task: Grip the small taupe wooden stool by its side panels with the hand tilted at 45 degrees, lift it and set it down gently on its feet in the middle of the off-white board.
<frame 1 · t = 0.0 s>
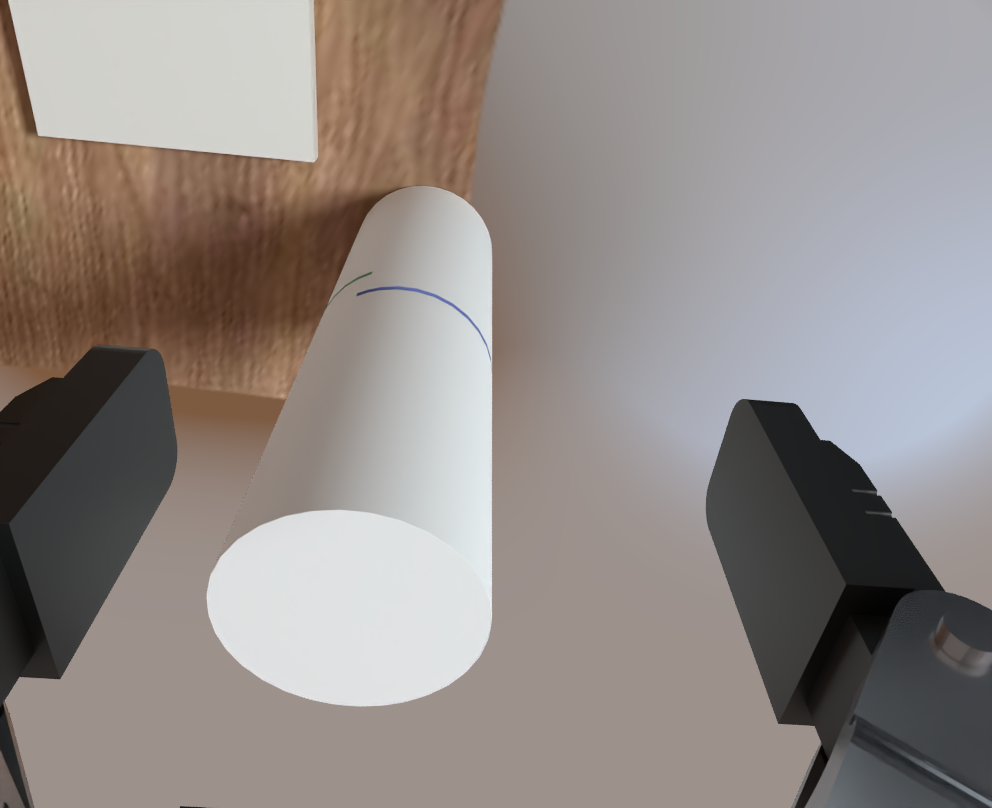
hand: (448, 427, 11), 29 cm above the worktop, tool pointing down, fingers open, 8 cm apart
cylindrical container: (425, 251, 40), on the worktop
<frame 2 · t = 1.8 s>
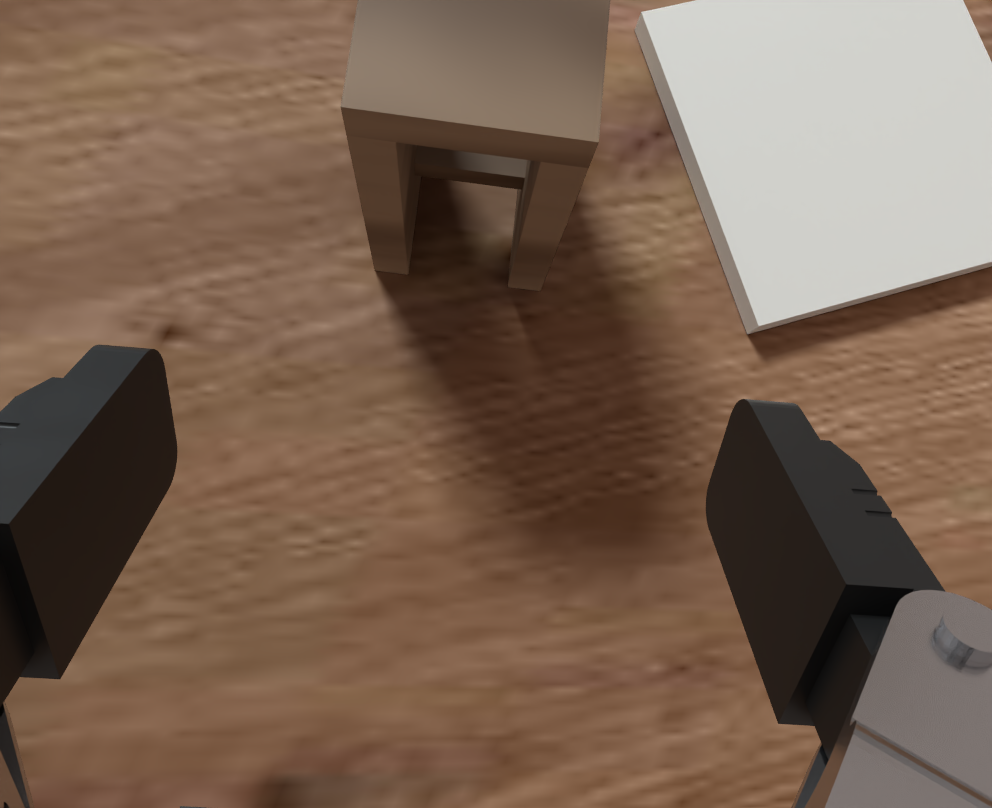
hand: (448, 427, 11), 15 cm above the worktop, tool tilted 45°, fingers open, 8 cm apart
off-white board: (841, 138, 30), on the worktop
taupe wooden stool: (467, 204, 28), on the worktop
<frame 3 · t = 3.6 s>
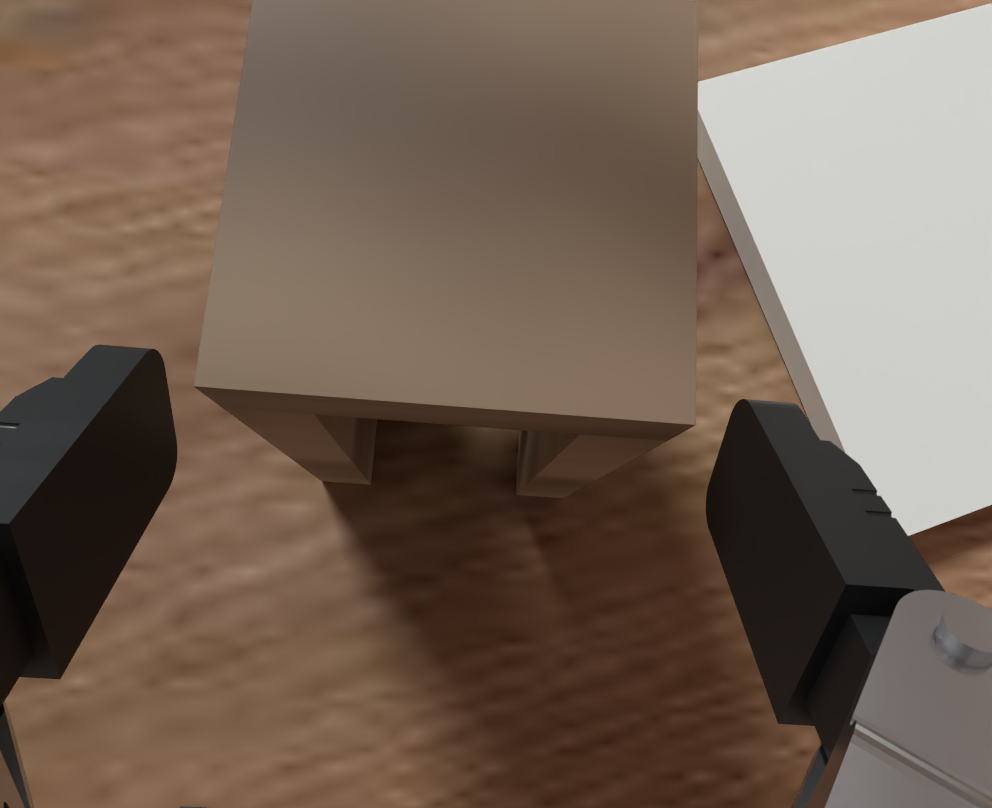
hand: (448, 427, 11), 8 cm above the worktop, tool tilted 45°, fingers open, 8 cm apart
off-white board: (970, 248, 21), on the worktop
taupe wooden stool: (452, 373, 19), on the worktop
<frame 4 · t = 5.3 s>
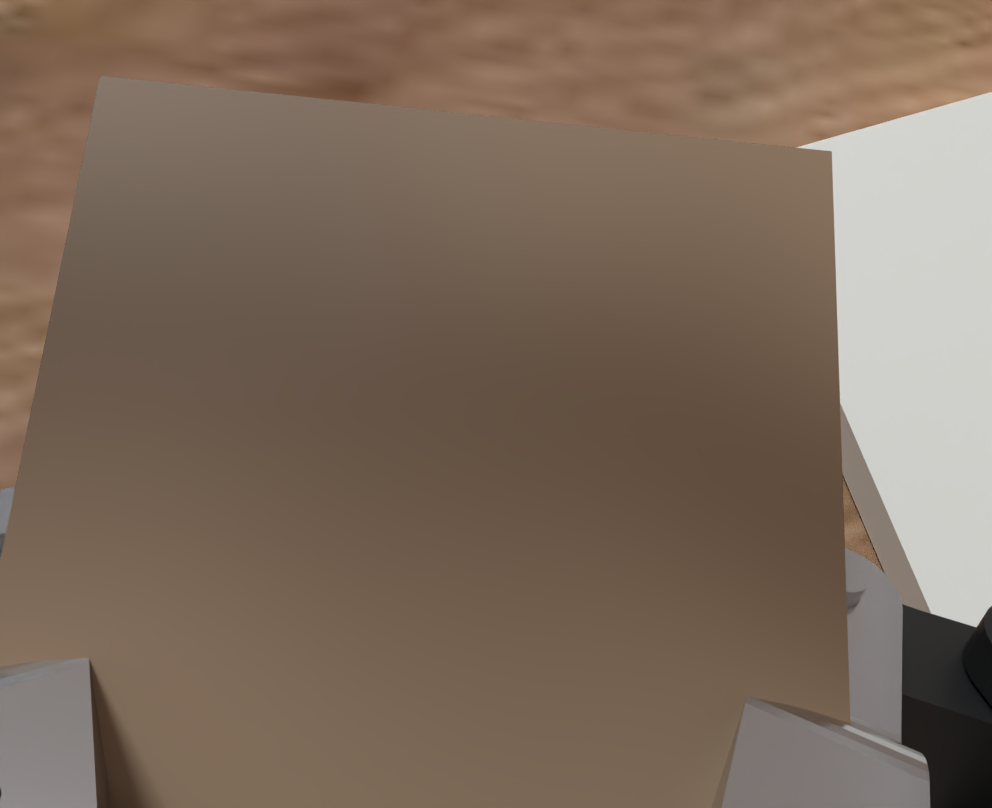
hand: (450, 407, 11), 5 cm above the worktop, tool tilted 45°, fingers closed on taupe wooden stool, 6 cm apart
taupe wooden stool: (441, 536, 15), on the worktop, touching gripper
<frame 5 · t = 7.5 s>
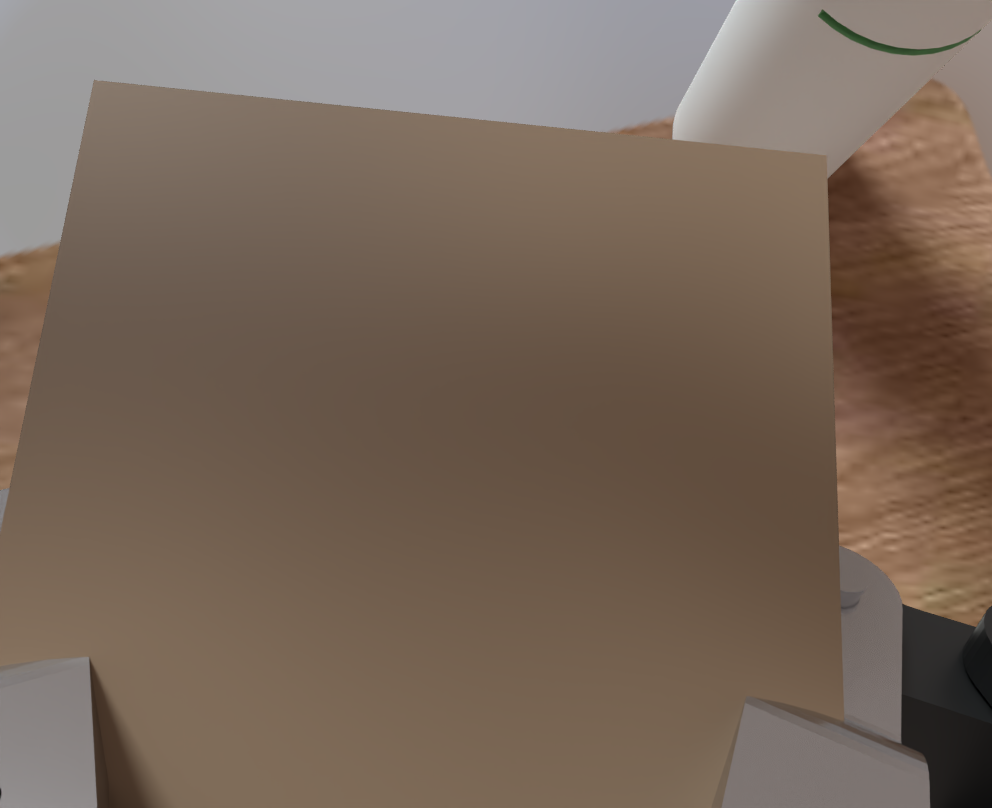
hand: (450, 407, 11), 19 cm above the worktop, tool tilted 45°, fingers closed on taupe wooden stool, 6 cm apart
cylindrical container: (748, 143, 34), on the worktop
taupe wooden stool: (439, 538, 15), point 14 cm above the worktop, touching gripper
when the fingers open (6 cm above the worktop, at t = 10.2 s): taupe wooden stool stays where it is, resting on off-white board.
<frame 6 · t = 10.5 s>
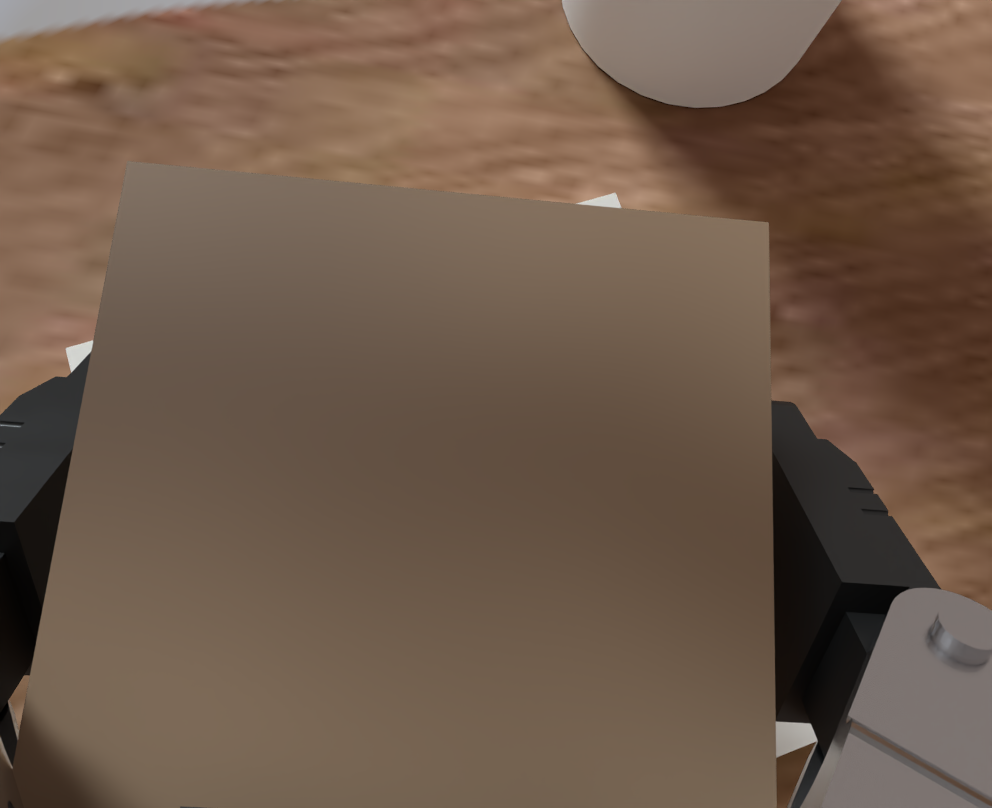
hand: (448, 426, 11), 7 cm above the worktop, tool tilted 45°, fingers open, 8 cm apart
off-white board: (440, 540, 17), on the worktop
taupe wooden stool: (435, 547, 16), point 1 cm above the worktop, touching off-white board
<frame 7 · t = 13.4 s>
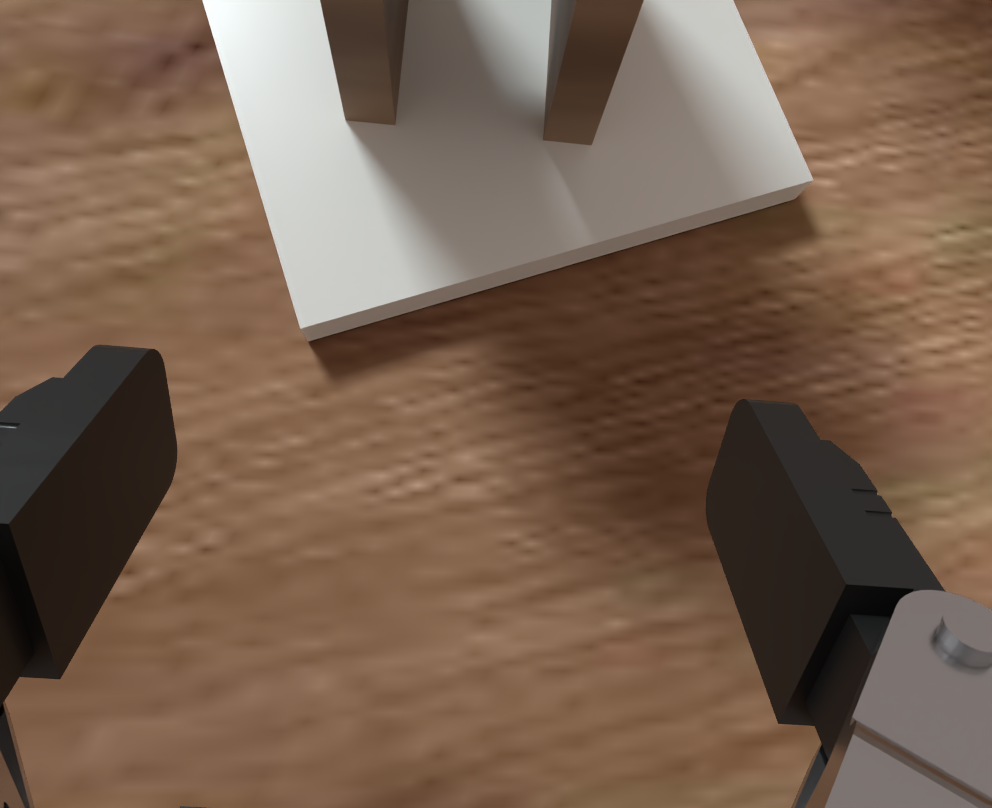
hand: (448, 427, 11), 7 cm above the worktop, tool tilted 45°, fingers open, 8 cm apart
off-white board: (480, 46, 20), on the worktop
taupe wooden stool: (478, 25, 19), point 1 cm above the worktop, touching off-white board
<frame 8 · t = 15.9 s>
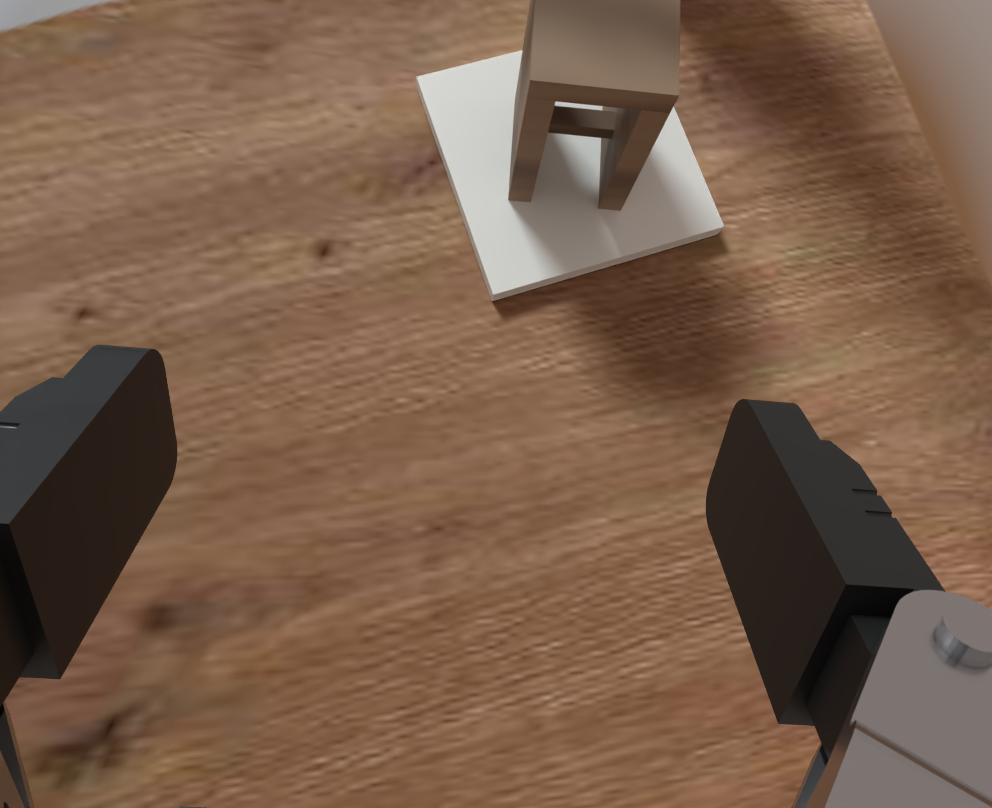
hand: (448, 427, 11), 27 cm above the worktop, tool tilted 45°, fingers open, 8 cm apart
off-white board: (566, 160, 41), on the worktop
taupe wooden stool: (567, 154, 40), point 1 cm above the worktop, touching off-white board
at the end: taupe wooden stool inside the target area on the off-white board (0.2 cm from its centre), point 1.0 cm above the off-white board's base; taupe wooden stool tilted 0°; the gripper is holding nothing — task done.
